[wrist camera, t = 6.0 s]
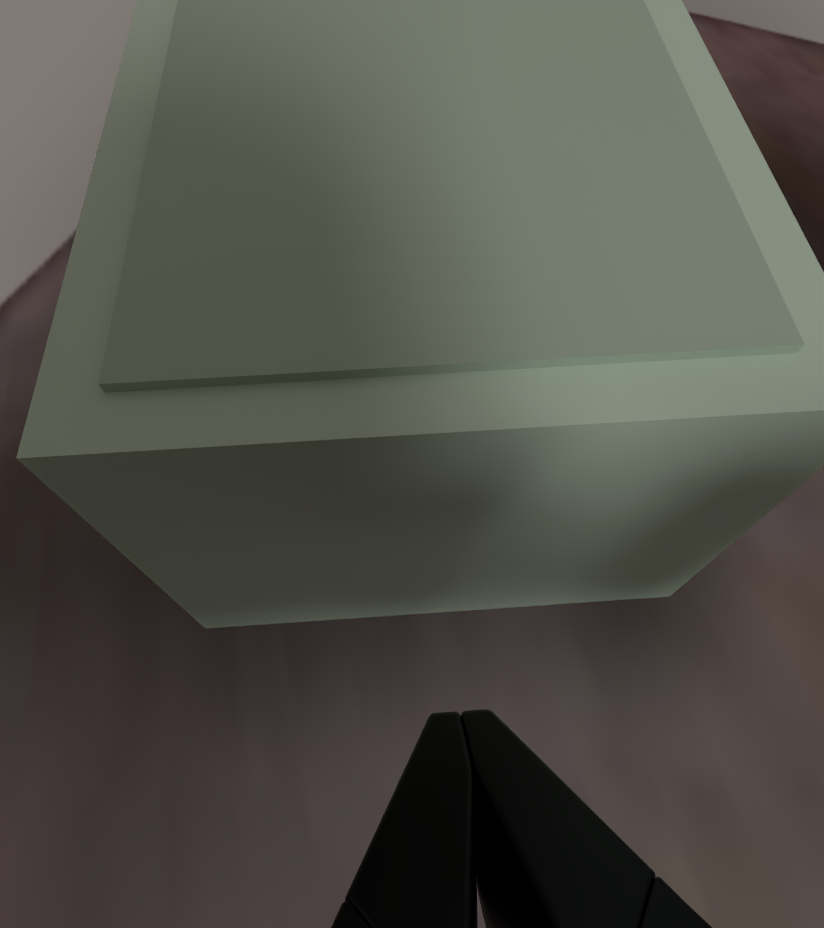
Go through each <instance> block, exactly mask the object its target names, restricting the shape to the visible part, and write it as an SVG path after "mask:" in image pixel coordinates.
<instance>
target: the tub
mask: <svg viewBox="0 0 824 928" xmlns="http://www.w3.org/2000/svg"><path fill="white" fill-rule="evenodd" d="M16 459H17V460H18V461H20V462H21V463H22V464H23V465H24V466H25V467H26V468H27V469H28V470H30V471H31V472H32V473H33V474H34V475H35V476H36V477H37V478H38V479H40V480H41V481H42V482H43V483H44V484H45V485H46V486H47V487H48V488H50V489H51V490H52V491H53V492H54V493H55V494H56V495H57V496H58V497H60V498H61V499H62V500H63V501H64V502H65V503H66V504H67V505H68V506H70V507H71V508H72V509H73V510H74V511H75V512H76V513H77V514H78V515H80V516H81V517H82V518H83V519H84V520H85V521H86V522H87V523H88V524H90V525H91V526H92V527H93V528H94V529H95V530H96V531H97V532H98V533H100V534H101V535H102V536H103V537H104V538H105V539H106V540H107V541H108V542H110V543H111V544H112V545H113V546H114V547H115V548H116V549H117V550H118V551H120V552H121V553H122V554H123V555H124V556H125V557H126V558H127V559H128V560H130V561H131V562H132V563H133V564H134V565H135V566H136V567H137V568H138V569H140V570H141V571H142V572H143V573H144V574H145V575H146V576H147V577H148V578H150V579H151V580H152V581H153V582H154V583H155V584H156V585H157V586H158V587H160V588H161V589H162V590H163V591H164V592H165V593H166V594H167V595H168V596H170V597H171V598H172V599H173V600H174V601H175V602H176V603H177V604H179V605H180V606H181V607H182V608H183V609H184V610H185V611H186V612H187V613H189V614H190V615H191V616H192V617H193V618H194V619H195V620H196V621H197V622H199V623H200V624H201V625H202V626H203V627H204V628H220V627H234V626H249V625H263V624H278V623H292V622H307V621H322V620H336V619H351V618H365V617H380V616H394V615H409V614H423V613H438V612H452V611H467V610H481V609H496V608H511V607H525V606H540V605H554V604H569V603H583V602H598V601H612V600H627V599H641V598H656V597H670V596H671V595H672V594H673V593H675V592H676V591H677V590H678V589H679V588H680V587H682V586H683V585H684V584H685V583H686V582H687V581H689V580H690V579H691V578H692V577H693V576H694V575H696V574H697V573H698V572H699V571H700V570H702V569H703V568H704V567H705V566H706V565H707V564H709V563H710V562H711V561H712V560H713V559H714V558H716V557H717V556H718V555H719V554H720V553H721V552H723V551H724V550H725V549H726V548H727V547H728V546H730V545H731V544H732V543H733V542H734V541H736V540H737V539H738V538H739V537H740V536H741V535H743V534H744V533H745V532H746V531H747V530H748V529H750V528H751V527H752V526H753V525H754V524H755V523H757V522H758V521H759V520H760V519H761V518H763V517H764V516H765V515H766V514H767V513H768V512H770V511H771V510H772V509H773V508H774V507H775V506H777V505H778V504H779V503H780V502H781V501H782V500H784V499H785V498H786V497H787V496H788V495H789V494H791V493H792V492H793V491H794V490H795V489H797V488H798V487H799V486H800V485H801V484H802V483H804V482H805V481H806V480H807V479H808V478H809V477H811V476H812V475H813V474H814V473H815V472H816V471H818V470H819V469H820V468H821V467H822V466H824V272H823V270H822V268H821V266H820V264H819V262H818V261H817V259H816V257H815V255H814V253H813V251H812V249H811V247H810V245H809V243H808V241H807V239H806V238H805V236H804V234H803V232H802V230H801V228H800V226H799V224H798V222H797V220H796V218H795V216H794V215H793V213H792V211H791V209H790V207H789V205H788V203H787V201H786V199H785V197H784V195H783V193H782V192H781V190H780V188H779V186H778V184H777V182H776V180H775V178H774V176H773V174H772V172H771V170H770V169H769V167H768V165H767V163H766V161H765V159H764V157H763V155H762V153H761V151H760V149H759V147H758V146H757V144H756V142H755V140H754V138H753V136H752V134H751V132H750V130H749V128H748V126H747V124H746V123H745V121H744V119H743V117H742V115H741V113H740V111H739V109H738V107H737V105H736V103H735V101H734V100H733V98H732V96H731V94H730V92H729V90H728V88H727V86H726V84H725V82H724V80H723V78H722V77H721V75H720V73H719V71H718V69H717V67H716V65H715V63H714V61H713V59H712V57H711V55H710V54H709V52H708V50H707V48H706V46H705V44H704V42H703V40H702V38H701V36H700V34H699V33H698V31H697V29H696V27H695V25H694V23H693V21H692V19H691V17H690V15H689V13H688V11H687V10H686V8H685V6H684V4H683V2H682V0H137V4H136V7H135V11H134V15H133V19H132V23H131V26H130V30H129V34H128V38H127V41H126V45H125V49H124V53H123V57H122V60H121V64H120V68H119V72H118V76H117V79H116V83H115V87H114V91H113V94H112V98H111V102H110V106H109V110H108V113H107V117H106V121H105V125H104V129H103V132H102V136H101V140H100V144H99V147H98V151H97V155H96V159H95V162H94V166H93V170H92V174H91V177H90V181H89V185H88V189H87V193H86V197H85V200H84V204H83V208H82V211H81V215H80V219H79V223H78V227H77V230H76V234H75V238H74V242H73V245H72V249H71V253H70V257H69V261H68V264H67V268H66V272H65V276H64V279H63V283H62V287H61V291H60V295H59V298H58V302H57V306H56V310H55V313H54V317H53V321H52V325H51V329H50V332H49V336H48V340H47V344H46V347H45V351H44V355H43V359H42V363H41V366H40V370H39V374H38V378H37V381H36V385H35V389H34V393H33V397H32V400H31V404H30V408H29V412H28V415H27V419H26V423H25V427H24V431H23V434H22V438H21V442H20V446H19V449H18V453H17V457H16Z"/></svg>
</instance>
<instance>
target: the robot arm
mask: <svg viewBox="0 0 824 928" xmlns="http://www.w3.org/2000/svg"><path fill="white" fill-rule="evenodd" d="M477 889H478V894H479V899H480V903H481V908H482V913H483V917H484V921H485V925H486V928H712V927H711V926H710V925H709V924H708V923H707V922H706V921H705V920H703V919H702V918H701V917H700V916H699V915H698V914H697V913H696V912H695V911H694V910H693V909H692V908H691V907H690V906H689V905H688V904H686V903H685V902H684V901H683V900H682V899H681V898H680V897H679V896H678V895H677V894H676V893H675V892H674V891H673V890H672V889H671V888H670V887H669V886H668V885H667V884H666V883H665V882H664V881H663V880H662V879H661V878H660V877H656V878H655V873H654V871H653V870H652V869H651V868H650V867H649V866H648V865H647V864H646V863H645V862H644V861H643V860H642V859H641V858H640V857H639V856H638V855H637V854H635V853H634V852H633V851H632V850H631V849H630V848H629V847H628V846H627V845H626V844H625V843H624V842H623V841H622V840H621V839H620V838H619V837H618V836H617V835H616V834H615V833H614V832H613V831H612V830H611V829H610V828H609V827H608V826H607V825H606V824H605V823H604V822H603V821H602V820H601V819H600V818H599V817H598V816H597V815H596V814H595V813H594V812H593V811H592V810H591V809H590V808H589V807H588V806H587V805H586V804H585V803H584V802H583V801H582V800H581V799H580V798H579V797H578V796H577V795H576V794H575V793H574V792H573V791H572V790H571V789H570V788H569V787H568V786H567V785H566V784H565V783H564V782H563V781H562V780H561V779H560V778H559V777H558V776H557V775H556V774H555V773H554V772H553V771H552V770H551V769H550V768H549V767H548V766H547V765H546V764H545V763H544V762H543V761H542V760H541V759H540V758H539V757H538V756H537V755H536V754H535V753H534V752H533V751H532V750H531V749H530V748H529V747H528V746H527V745H525V744H524V743H523V742H522V741H521V740H520V739H519V738H518V737H517V736H516V735H515V734H514V733H513V732H512V731H511V730H510V729H509V728H508V727H507V726H506V725H505V724H504V723H503V722H502V721H501V720H500V719H499V718H498V717H497V716H496V715H495V714H494V713H493V712H492V711H490V710H487V709H485V710H471V711H464V712H463V713H462V714H461V716H460V714H459V713H457V712H443V713H433V714H431V715H430V716H429V718H428V720H427V722H426V724H425V726H424V728H423V730H422V733H421V735H420V737H419V739H418V741H417V743H416V746H415V748H414V750H413V752H412V754H411V756H410V759H409V761H408V763H407V765H406V767H405V769H404V772H403V774H402V776H401V778H400V780H399V782H398V785H397V787H396V789H395V791H394V793H393V795H392V798H391V800H390V802H389V804H388V806H387V808H386V811H385V813H384V815H383V817H382V819H381V821H380V824H379V826H378V828H377V830H376V832H375V834H374V837H373V839H372V841H371V843H370V845H369V847H368V850H367V852H366V854H365V856H364V858H363V860H362V863H361V865H360V867H359V869H358V871H357V874H356V876H355V878H354V880H353V882H352V884H351V887H350V889H349V891H348V893H347V895H346V898H345V902H344V903H343V904H342V905H341V907H340V910H339V912H338V914H337V916H336V918H335V920H334V923H333V925H332V927H331V928H478V926H477Z"/></svg>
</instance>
